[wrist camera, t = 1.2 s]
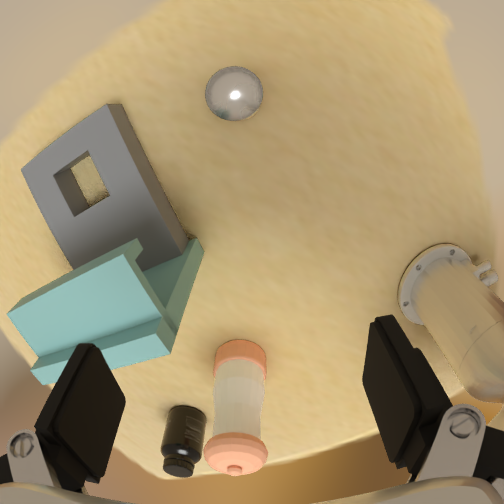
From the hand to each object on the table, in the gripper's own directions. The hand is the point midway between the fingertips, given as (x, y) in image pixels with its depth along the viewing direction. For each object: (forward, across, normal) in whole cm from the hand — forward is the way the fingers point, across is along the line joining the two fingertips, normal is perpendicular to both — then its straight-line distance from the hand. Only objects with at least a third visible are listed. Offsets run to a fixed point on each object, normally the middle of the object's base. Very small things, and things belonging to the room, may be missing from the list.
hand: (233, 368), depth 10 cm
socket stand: (+28, +16, 0) cm, 32 cm away
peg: (+27, -1, -9) cm, 29 cm away
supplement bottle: (+27, +15, +39) cm, 50 cm away
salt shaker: (+27, +3, +25) cm, 37 cm away
